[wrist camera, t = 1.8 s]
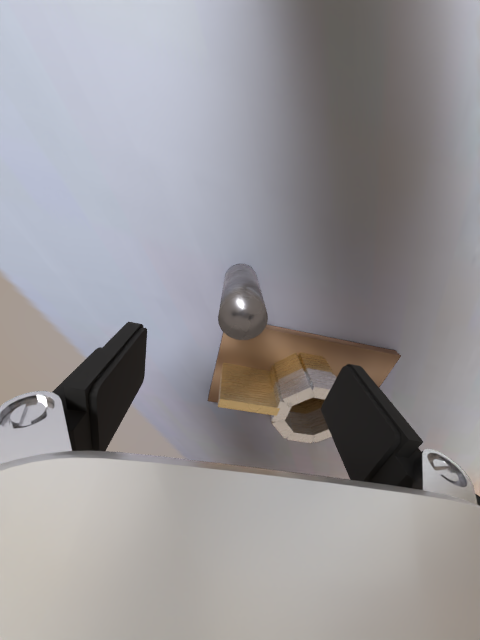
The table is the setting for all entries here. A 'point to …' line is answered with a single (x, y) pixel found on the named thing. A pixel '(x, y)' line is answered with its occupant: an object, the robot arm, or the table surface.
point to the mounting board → (287, 342)
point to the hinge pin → (242, 304)
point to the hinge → (282, 394)
